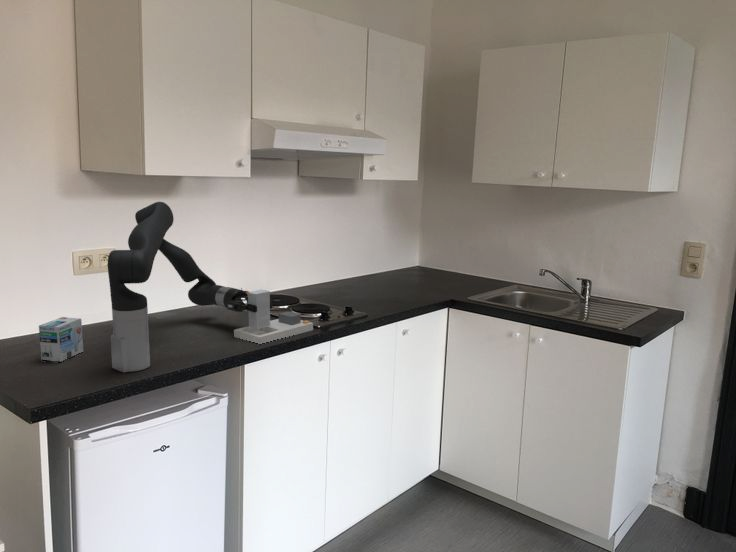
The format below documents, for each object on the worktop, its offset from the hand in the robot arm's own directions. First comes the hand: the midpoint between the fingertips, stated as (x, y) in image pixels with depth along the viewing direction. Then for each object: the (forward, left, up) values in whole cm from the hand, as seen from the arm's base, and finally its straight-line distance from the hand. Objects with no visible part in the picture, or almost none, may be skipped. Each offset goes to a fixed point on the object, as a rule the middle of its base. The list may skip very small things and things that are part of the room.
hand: (264, 307), depth 203 cm
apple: (+22, +38, -11) cm, 45 cm away
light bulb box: (-53, +29, -11) cm, 61 cm away
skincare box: (0, +3, -7) cm, 8 cm away
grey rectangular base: (+6, +2, -11) cm, 13 cm away
